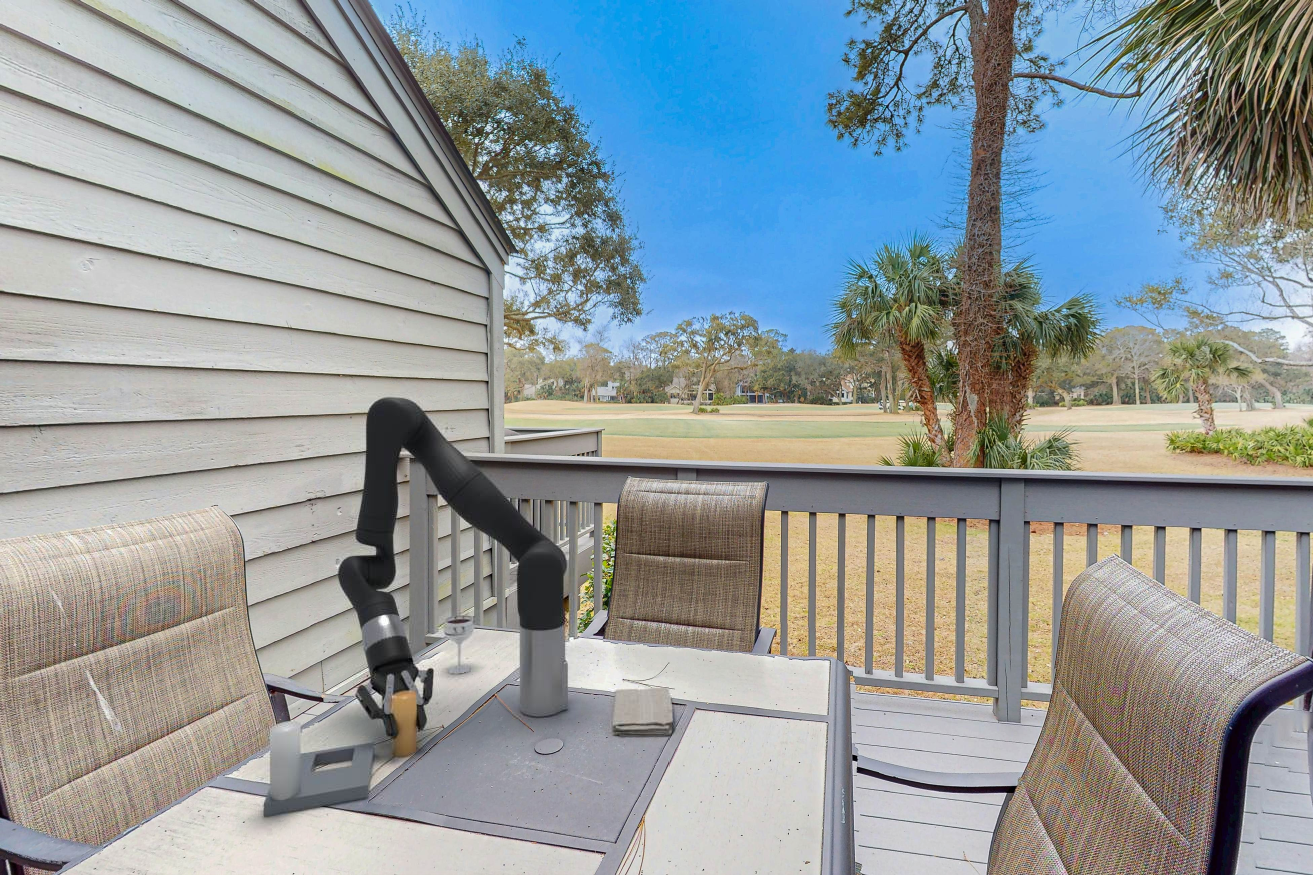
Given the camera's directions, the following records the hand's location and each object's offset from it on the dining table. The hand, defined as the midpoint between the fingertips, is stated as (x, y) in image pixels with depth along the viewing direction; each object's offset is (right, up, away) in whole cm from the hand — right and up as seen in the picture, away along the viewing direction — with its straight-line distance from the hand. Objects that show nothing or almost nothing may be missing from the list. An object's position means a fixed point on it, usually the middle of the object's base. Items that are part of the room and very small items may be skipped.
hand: (408, 732), depth 110 cm
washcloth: (+40, -5, +16) cm, 44 cm away
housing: (-10, -4, -8) cm, 14 cm away
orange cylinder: (-1, -4, +2) cm, 5 cm away
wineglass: (-3, -3, +38) cm, 38 cm away
